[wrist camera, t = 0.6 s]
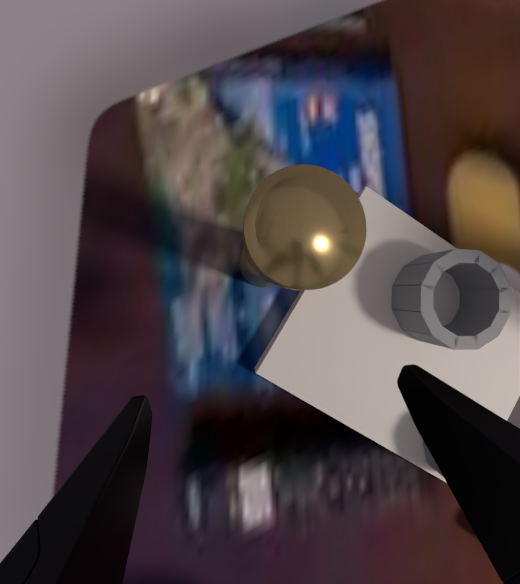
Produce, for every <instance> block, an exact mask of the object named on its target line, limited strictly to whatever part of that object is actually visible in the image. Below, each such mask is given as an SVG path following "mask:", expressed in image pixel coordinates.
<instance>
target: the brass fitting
mask: <svg viewBox="0 0 520 584" xmlns="http://www.w3.org/2000/svg"><path fill="white" fill-rule="evenodd" d="M366 231H367V229H366V218H365V213H364V210H363V206H362V204H361V202H360V200H359V198H358V196H357V194H356V193H355V191H354V190H353V189H352V187H351V186H350V185H349V184H348V183H347V182H346V181H345V180H344V179H342V178H341V177H340V176H339V175H337V174H335V173H334V172H332V171H330V170H328V169H325V168H322V167H319V166H315V165H301V164H300V165H292V166H289V167H285V168H282V169H280V170H278V171H276V172H274V173H272V174H271V175H269V176H268V177H267V178H266V179H264V180H263V181H262V183H261V184H260V185H259V186H258V187H257V188H256V190H255V191H254V193H253V195H252V196H251V198H250V201H249V203H248V206H247V209H246V214H245V218H244V222H243V242H244V248H243V251H242V253H241V256H240V260H239V266H240V271H241V273H242V275H243V277H244V278H245V279H246V280H247V281H248V282H249V283H250V284H252V285H255V286H258V287H268V286H274V285H277V286H279V287H282V288H285V289H290V290H315V289H321V288H324V287H327V286H330V285H332V284H334V283H336V282H338V281H339V280H341V279H342V278H344V277H345V276H346V275H347V274H348V273H349V272H350V271H351V270H352V269H353V268H354V266H355V265H356V263H357V262H358V260H359V258H360V256H361V254H362V251H363V248H364V245H365V240H366Z"/></svg>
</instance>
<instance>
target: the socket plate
mask: <svg viewBox="0 0 520 584" xmlns="http://www.w3.org/2000/svg"><path fill="white" fill-rule="evenodd" d="M357 196H358V198H359V200H360V202H361V204H362V206H363V210H364V213H365V218H366V229H367V231H366V240H365V245H364V248H363V251H362V254H361V256H360V258H359V260H358V262H357V263H356V265H355V266H354V268H353V269H352V270H351V271H350V272H349V273H348V274H347V275H346V276H345V277H344V278H342V279H341V280H339V281H338V282H336V283H334V284H332V285H330V286H327V287H324V288H321V289H315V290H300V291H299V293H298V295H297V297H296V298H295V300H294V302H293V303H292V305H291V307H290V308H289V310H288V312H287V313H286V315H285V317H284V318H283V320H282V322H281V324H280V325H279V327H278V329H277V330H276V332H275V334H274V335H273V337H272V339H271V340H270V342H269V344H268V346H267V347H266V349H265V351H264V352H263V354H262V356H261V357H260V359H259V361H258V362H257V364H256V366H255V368H254V369H255V372H256V374H258V375H260V376H262V377H263V378H265V379H267V380H269V381H270V382H272V383H274V384H276V385H277V386H279V387H281V388H283V389H284V390H286V391H288V392H290V393H291V394H293V395H295V396H296V397H298V398H300V399H302V400H303V401H305V402H307V403H309V404H310V405H312V406H314V407H316V408H317V409H319V410H321V411H323V412H324V413H326V414H328V415H330V416H331V417H333V418H335V419H336V420H338V421H340V422H342V423H343V424H345V425H347V426H349V427H350V428H352V429H354V430H356V431H357V432H359V433H361V434H363V435H364V436H366V437H368V438H370V439H371V440H373V441H375V442H376V443H378V444H380V445H382V446H383V447H385V448H387V449H389V450H390V451H392V452H394V453H396V454H397V455H399V456H401V457H403V458H404V459H406V460H408V461H409V462H411V463H413V464H415V465H416V466H418V467H420V468H422V469H423V470H425V471H427V472H429V473H430V474H432V475H434V476H436V477H437V478H439V479H441V480H443V481H444V482H446V480H445V478H444V477H443V475H442V473H441V471H440V469H439V468H438V466H437V464H436V462H435V460H434V459H433V457H432V455H431V453H430V452H429V450H428V448H427V446H426V444H425V443H424V441H423V439H422V437H421V435H420V434H419V432H418V430H417V428H416V426H415V424H414V422H413V420H412V417H411V415H410V413H409V411H408V408H407V406H406V404H405V402H404V399H403V397H402V395H401V393H400V390H399V388H398V385H397V379H398V377H399V374H400V372H401V369H402V367H403V366H404V365H411V364H415V365H417V366H419V367H421V368H422V369H424V370H426V371H427V372H429V373H430V374H432V375H434V376H435V377H437V378H438V379H440V380H442V381H443V382H445V383H447V384H448V385H450V386H451V387H453V388H455V389H456V390H458V391H459V392H461V393H463V394H464V395H466V396H467V397H469V398H471V399H472V400H474V401H476V402H477V403H479V404H480V405H482V406H484V407H485V408H487V409H488V410H490V411H492V412H493V413H495V414H497V415H498V416H500V417H501V418H503V419H505V420H506V421H507V420H508V418H509V416H510V414H511V412H512V410H513V408H514V406H515V404H516V402H517V400H518V398H519V396H520V292H519V291H517V290H516V289H514V288H513V287H511V286H510V284H509V282H508V280H507V278H506V276H505V273H504V271H503V269H502V267H501V265H499V263H498V262H496V261H495V260H493V259H492V258H491V257H489V256H488V255H486V254H485V253H483V252H482V251H481V250H469V249H457V248H455V247H454V246H452V245H451V244H449V243H448V242H446V241H445V240H444V239H442V238H441V237H439V236H438V235H436V234H435V233H433V232H432V231H430V230H429V229H428V228H426V227H425V226H423V225H422V224H420V223H419V222H417V221H416V220H415V219H413V218H412V217H410V216H409V215H407V214H406V213H404V212H403V211H402V210H400V209H399V208H397V207H396V206H394V205H393V204H391V203H390V202H389V201H387V200H386V199H384V198H383V197H381V196H380V195H378V194H377V193H375V192H374V191H373V190H371V189H370V188H368V187H367V186H366V187H365V188H363V189H362V190H361V191H360V192H358V193H357ZM446 483H447V482H446Z"/></svg>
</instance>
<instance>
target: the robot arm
mask: <svg viewBox="0 0 520 584" xmlns="http://www.w3.org/2000/svg"><path fill="white" fill-rule="evenodd" d="M397 385H398V388H399V390H400V393H401V395H402V397H403V399H404V402H405V404H406V406H407V408H408V411H409V413H410V415H411V417H412V420H413V422H414V424H415V426H416V428H417V430H418V432H419V434H420V435H421V437H422V439H423V441H424V443H425V444H426V446H427V448H428V450H429V452H430V453H431V455H432V457H433V459H434V460H435V462H436V464H437V466H438V468H439V469H440V471H441V473H442V475H443V477H444V478H445V480H446V482H447V484H448V486H449V487H450V489H451V491H452V493H453V494H454V496H455V498H456V500H457V502H458V503H459V505H460V507H461V509H462V511H463V512H464V514H465V516H466V518H467V519H468V521H469V523H470V525H471V527H472V528H473V530H474V532H475V534H476V536H477V537H478V539H479V541H480V543H481V544H482V546H483V548H484V550H485V552H486V553H487V555H488V557H489V559H490V561H491V562H492V564H493V566H494V568H495V570H496V571H497V573H498V575H499V577H500V578H501V580H502V581H503V584H520V429H519V428H517V427H516V426H514V425H512V424H511V423H509V422H508V421H506V420H505V419H503V418H501V417H500V416H498V415H497V414H495V413H493V412H492V411H490V410H488V409H487V408H485V407H484V406H482V405H480V404H479V403H477V402H476V401H474V400H472V399H471V398H469V397H467V396H466V395H464V394H463V393H461V392H459V391H458V390H456V389H455V388H453V387H451V386H450V385H448V384H447V383H445V382H443V381H442V380H440V379H438V378H437V377H435V376H434V375H432V374H430V373H429V372H427V371H426V370H424V369H422V368H421V367H419V366H417V365H415V364H411V365H404V366H403V367H402V369H401V372H400V374H399V377H398V379H397ZM151 423H152V410H151V407H150V404H149V401H148V398H147V397H146V396H145V395H143V396H135V397H132V398H131V399H130V400H129V402H128V403H127V404H126V406H125V407H124V408H123V409H122V411H121V412H120V413H119V414H118V416H117V417H116V418H115V419H114V421H113V422H112V423H111V425H110V426H109V427H108V428H107V430H106V431H105V432H104V433H103V435H102V436H101V437H100V438H99V440H98V441H97V442H96V444H95V445H94V446H93V447H92V449H91V450H90V451H89V452H88V454H87V455H86V456H85V457H84V459H83V460H82V461H81V463H80V464H79V465H78V466H77V468H76V469H75V470H74V471H73V473H72V474H71V475H70V476H69V478H68V479H67V480H66V482H65V483H64V484H63V485H62V487H61V488H60V489H59V490H58V492H57V493H56V494H55V495H54V497H53V498H52V499H51V501H50V502H49V503H48V504H47V506H46V507H45V508H44V509H43V511H42V512H41V513H40V515H39V516H38V520H35V521H34V522H33V523H32V524H31V526H30V527H29V528H28V530H27V531H26V532H25V533H24V535H23V536H22V537H21V538H20V540H19V541H18V542H17V543H16V545H15V546H14V547H13V548H12V549H11V551H10V552H9V553H8V554H7V555H6V557H5V558H4V559H3V560H2V562H1V563H0V584H122V583H123V578H124V573H125V568H126V564H127V559H128V554H129V550H130V545H131V540H132V535H133V531H134V526H135V521H136V516H137V512H138V507H139V502H140V498H141V493H142V488H143V483H144V479H145V474H146V468H147V461H148V452H149V442H150V432H151Z"/></svg>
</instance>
